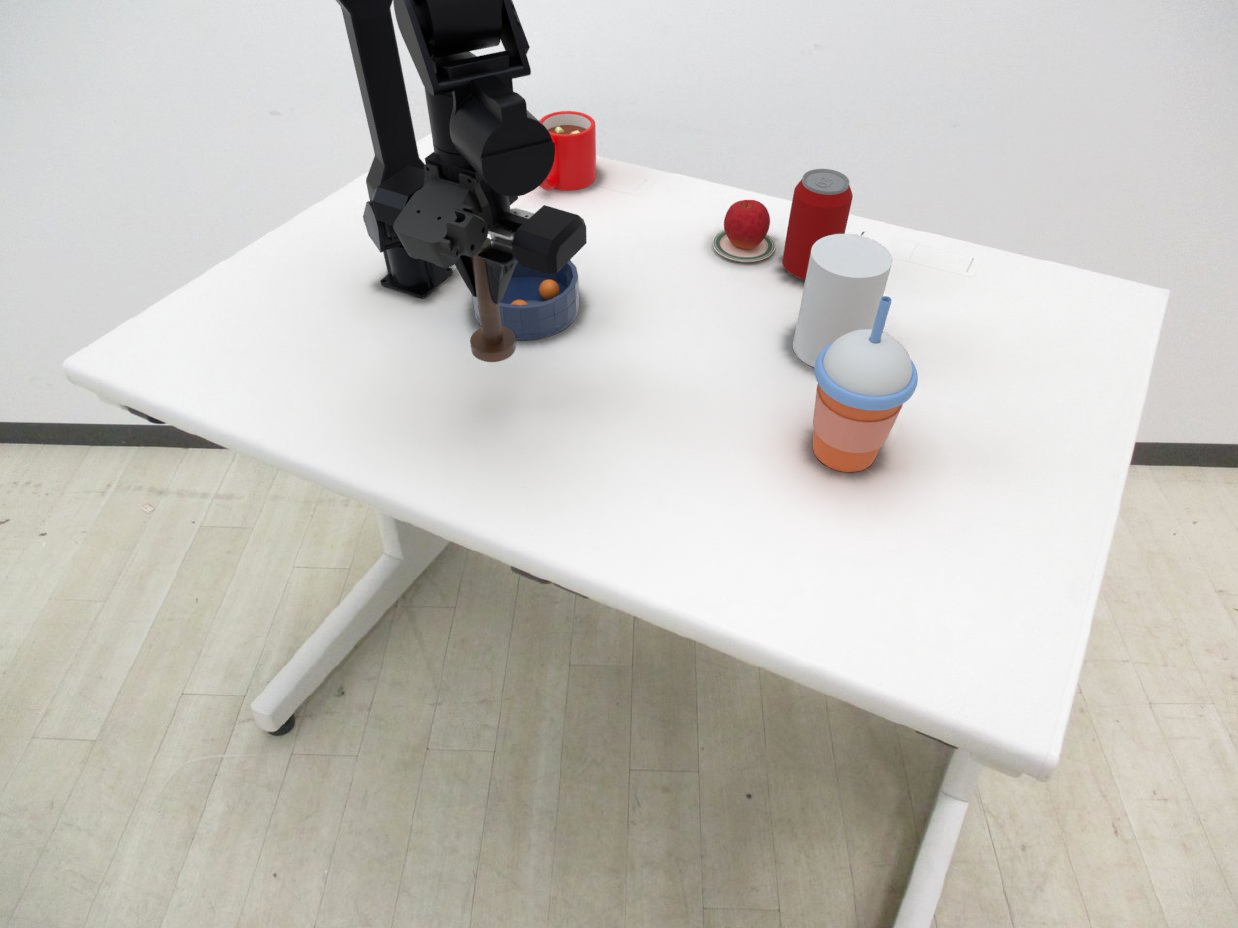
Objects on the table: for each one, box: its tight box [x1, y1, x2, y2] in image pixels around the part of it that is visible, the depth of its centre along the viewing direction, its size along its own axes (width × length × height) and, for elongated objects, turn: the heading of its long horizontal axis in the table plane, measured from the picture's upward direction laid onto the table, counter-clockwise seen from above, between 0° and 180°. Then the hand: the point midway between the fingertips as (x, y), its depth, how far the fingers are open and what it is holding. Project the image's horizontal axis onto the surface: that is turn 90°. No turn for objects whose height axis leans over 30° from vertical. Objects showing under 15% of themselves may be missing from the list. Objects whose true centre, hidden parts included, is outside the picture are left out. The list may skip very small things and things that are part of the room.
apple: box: [712, 199, 776, 263], centre depth 106 cm, size 8×8×6 cm
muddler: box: [469, 237, 517, 363], centre depth 79 cm, size 4×4×12 cm
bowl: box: [471, 259, 580, 341], centre depth 98 cm, size 12×12×4 cm
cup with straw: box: [812, 295, 919, 473], centre depth 77 cm, size 9×9×18 cm
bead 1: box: [511, 300, 528, 305], centre depth 96 cm, size 2×2×2 cm
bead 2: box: [539, 279, 560, 300], centre depth 99 cm, size 2×2×2 cm
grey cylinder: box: [792, 233, 893, 368], centre depth 90 cm, size 8×8×12 cm
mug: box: [539, 110, 597, 191], centre depth 117 cm, size 8×12×8 cm, turn 155°
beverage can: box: [782, 168, 853, 281], centre depth 101 cm, size 7×7×12 cm
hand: (487, 298), depth 79 cm, fingers closed on muddler, 2 cm apart
